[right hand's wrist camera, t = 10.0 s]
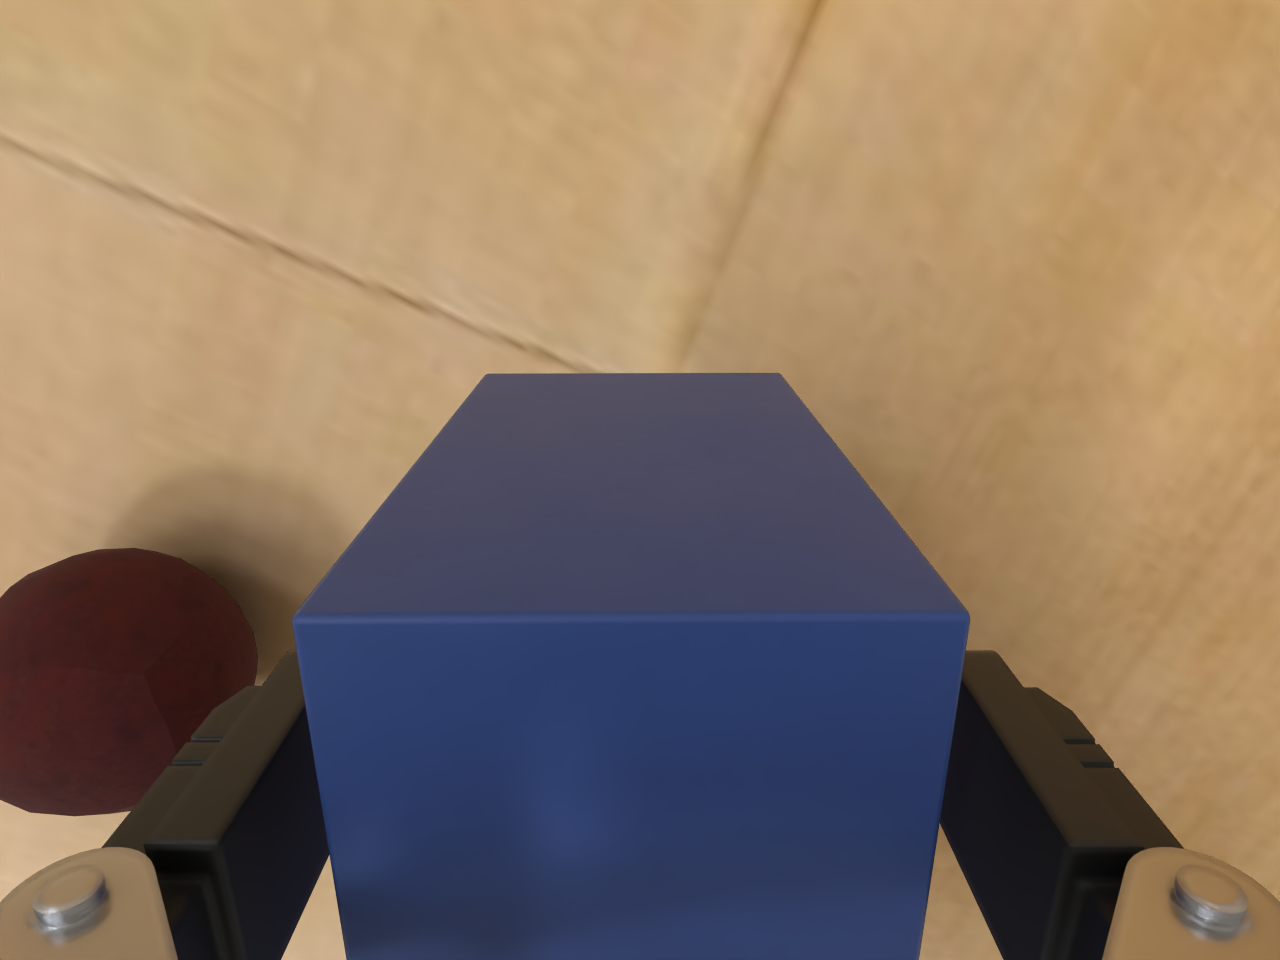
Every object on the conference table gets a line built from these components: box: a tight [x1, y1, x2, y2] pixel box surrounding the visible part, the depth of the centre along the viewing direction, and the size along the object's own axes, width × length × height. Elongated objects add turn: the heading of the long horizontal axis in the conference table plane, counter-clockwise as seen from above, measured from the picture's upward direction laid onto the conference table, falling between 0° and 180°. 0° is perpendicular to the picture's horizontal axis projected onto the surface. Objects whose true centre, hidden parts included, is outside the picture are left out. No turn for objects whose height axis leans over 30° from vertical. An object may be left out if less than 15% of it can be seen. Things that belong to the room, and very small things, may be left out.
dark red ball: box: [0, 548, 258, 816], centre depth 24 cm, size 7×8×7 cm
